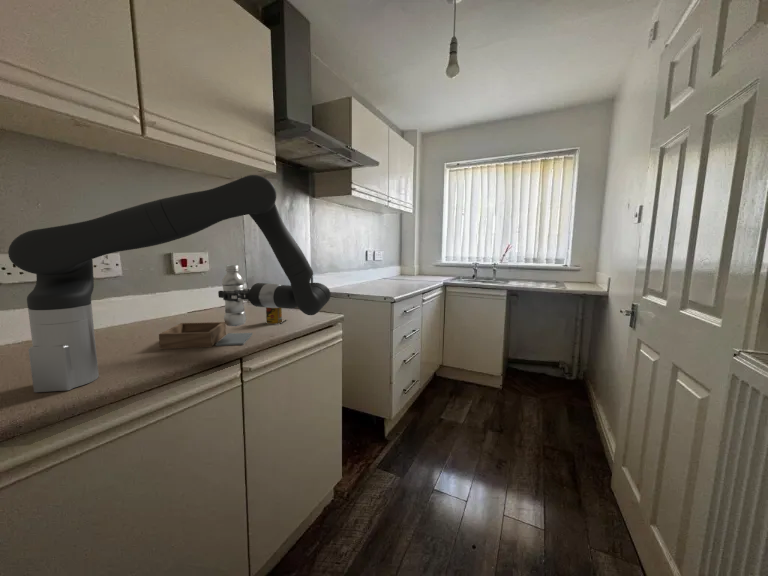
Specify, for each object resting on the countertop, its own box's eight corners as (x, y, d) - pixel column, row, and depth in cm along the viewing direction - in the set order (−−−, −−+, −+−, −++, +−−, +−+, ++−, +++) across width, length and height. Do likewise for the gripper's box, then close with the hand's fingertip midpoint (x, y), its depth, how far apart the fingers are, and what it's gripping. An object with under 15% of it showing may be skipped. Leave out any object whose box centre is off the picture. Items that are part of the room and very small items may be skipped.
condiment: (262, 324, 120) (261, 295, 118) (271, 319, 128) (270, 292, 127) (280, 325, 119) (279, 295, 118) (287, 320, 128) (287, 292, 126)
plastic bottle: (251, 324, 100) (248, 265, 97) (232, 329, 94) (229, 266, 91) (238, 322, 103) (235, 265, 100) (219, 326, 97) (216, 265, 94)
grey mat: (243, 344, 94) (243, 342, 94) (215, 345, 92) (215, 343, 92) (252, 334, 105) (252, 332, 105) (228, 335, 104) (228, 333, 104)
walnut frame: (211, 346, 91) (210, 332, 90) (159, 348, 88) (158, 334, 88) (226, 334, 104) (225, 322, 104) (182, 335, 102) (181, 323, 101)
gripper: (283, 281, 98) (244, 279, 104) (250, 286, 85) (207, 283, 90) (284, 303, 99) (245, 300, 105) (252, 311, 86) (209, 307, 91)
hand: (228, 292), depth 98 cm, fingers closed on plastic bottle, 6 cm apart
